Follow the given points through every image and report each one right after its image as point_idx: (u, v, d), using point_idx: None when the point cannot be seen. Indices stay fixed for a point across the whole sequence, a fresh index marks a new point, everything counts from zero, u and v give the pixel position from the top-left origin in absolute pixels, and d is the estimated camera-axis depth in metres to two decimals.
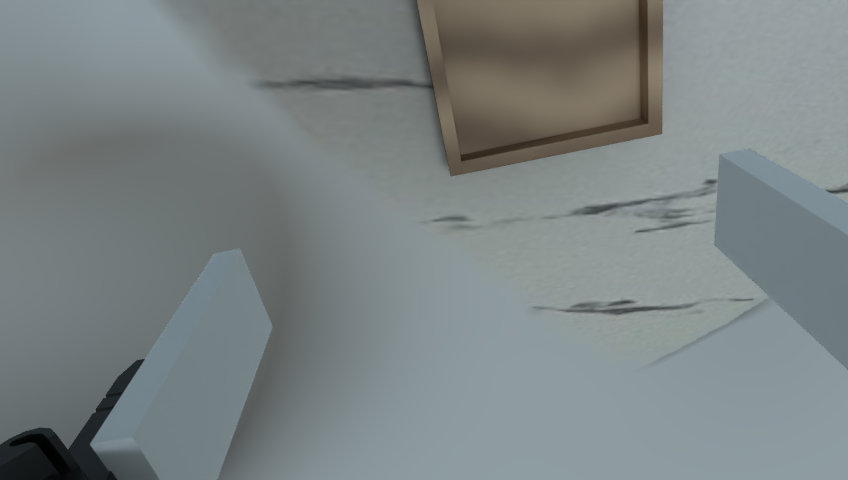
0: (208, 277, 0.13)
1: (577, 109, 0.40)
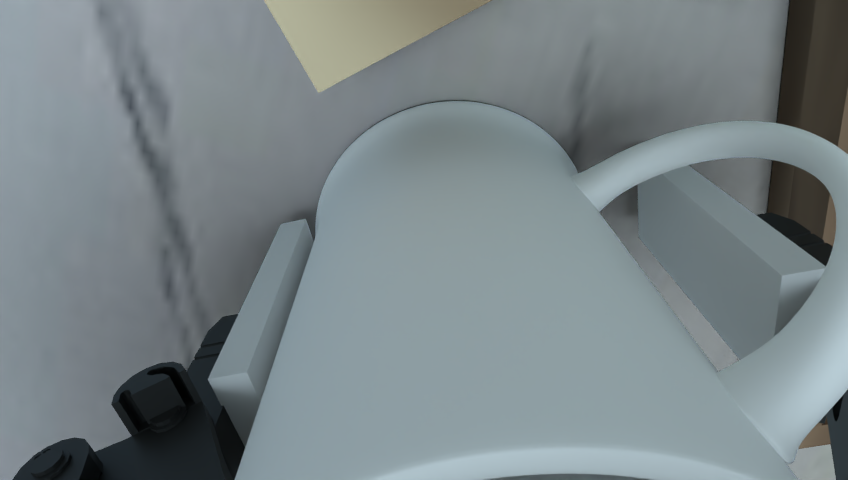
0: (282, 244, 0.14)
1: None
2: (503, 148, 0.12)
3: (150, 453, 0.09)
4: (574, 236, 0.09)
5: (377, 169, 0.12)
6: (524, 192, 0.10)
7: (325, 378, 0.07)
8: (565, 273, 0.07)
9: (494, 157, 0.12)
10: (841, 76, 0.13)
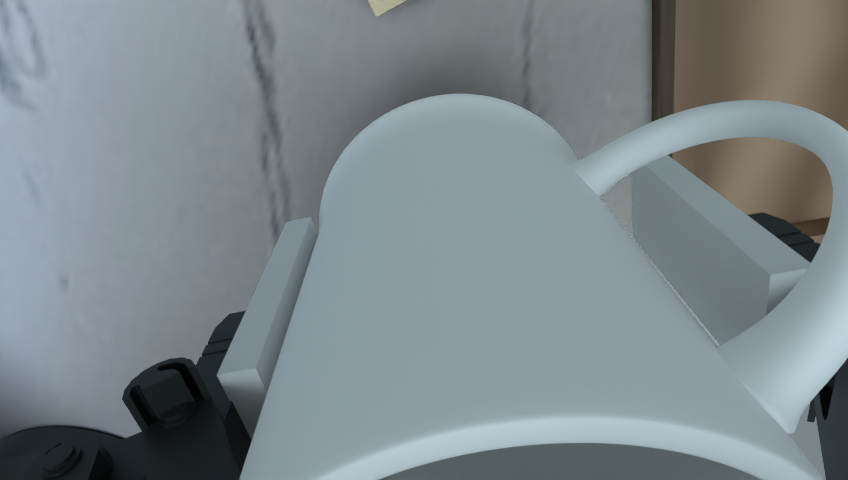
0: (287, 241, 0.14)
1: None
2: (502, 138, 0.12)
3: (160, 448, 0.09)
4: (572, 219, 0.09)
5: (377, 163, 0.13)
6: (522, 179, 0.10)
7: (328, 362, 0.07)
8: (563, 254, 0.08)
9: (492, 146, 0.12)
10: (672, 16, 0.22)
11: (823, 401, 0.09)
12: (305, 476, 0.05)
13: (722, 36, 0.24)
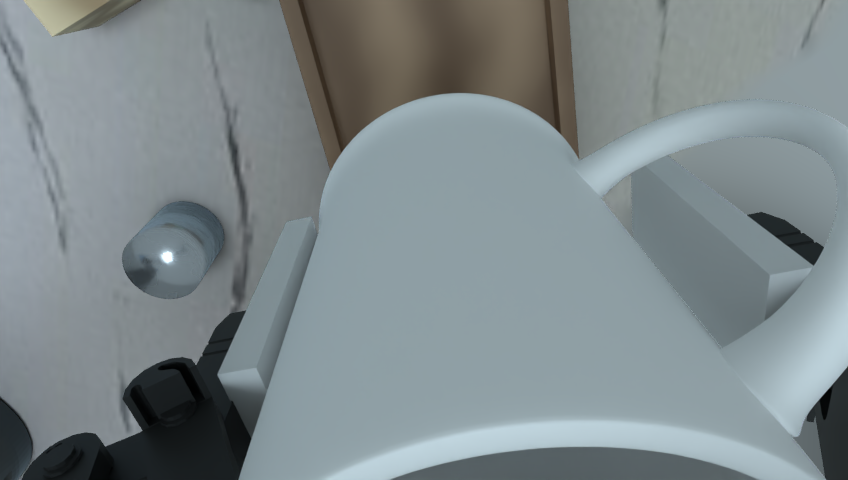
0: (288, 241, 0.14)
1: (518, 27, 0.33)
2: (502, 137, 0.12)
3: (160, 448, 0.09)
4: (574, 219, 0.09)
5: (377, 163, 0.13)
6: (523, 178, 0.10)
7: (327, 364, 0.07)
8: (564, 254, 0.07)
9: (493, 146, 0.12)
10: (290, 34, 0.31)
11: (823, 401, 0.09)
12: None
13: (343, 48, 0.33)
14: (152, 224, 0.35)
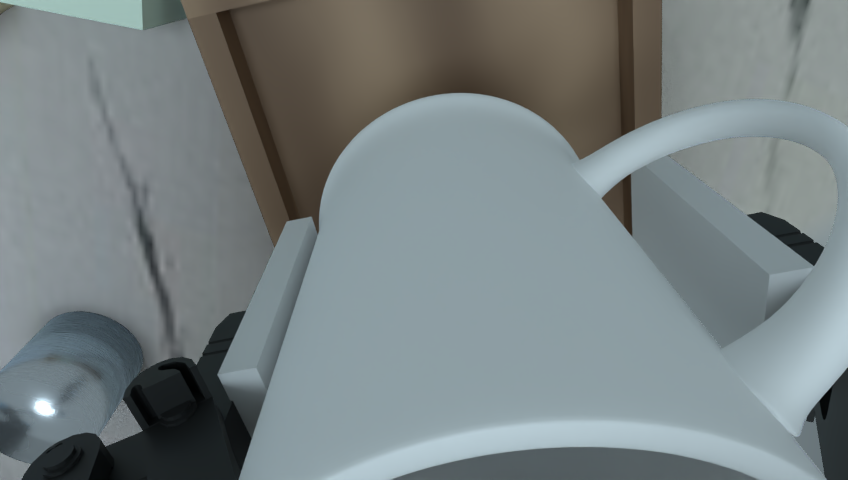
0: (288, 241, 0.14)
1: (575, 68, 0.21)
2: (503, 137, 0.12)
3: (161, 447, 0.09)
4: (574, 219, 0.09)
5: (377, 162, 0.12)
6: (523, 178, 0.10)
7: (327, 364, 0.07)
8: (565, 255, 0.07)
9: (493, 146, 0.12)
10: None
11: (822, 401, 0.09)
12: None
13: (303, 100, 0.21)
14: (19, 361, 0.23)
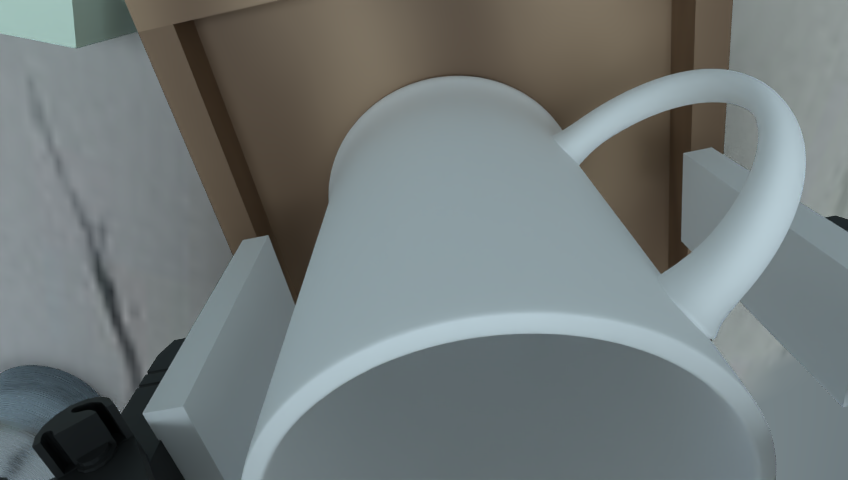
0: (240, 262, 0.14)
1: (617, 90, 0.17)
2: (487, 113, 0.14)
3: None
4: (542, 178, 0.10)
5: (377, 140, 0.14)
6: (502, 146, 0.12)
7: (334, 294, 0.08)
8: (528, 204, 0.09)
9: (477, 121, 0.13)
10: None
11: None
12: (317, 369, 0.07)
13: (286, 128, 0.17)
14: None
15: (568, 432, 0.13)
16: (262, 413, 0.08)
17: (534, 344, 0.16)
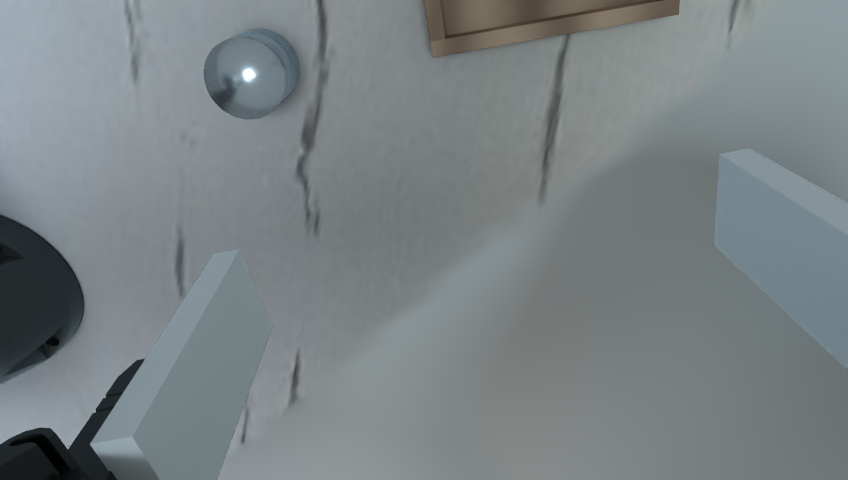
0: (208, 277, 0.13)
1: None
2: None
3: None
4: None
5: None
6: None
7: None
8: None
9: None
10: None
11: None
12: None
13: None
14: (235, 36, 0.34)
15: None
16: None
17: None
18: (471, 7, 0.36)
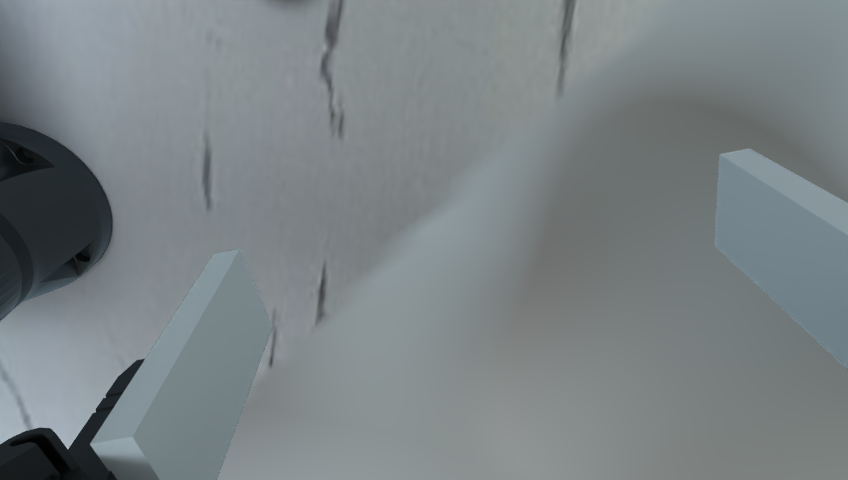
0: (208, 278, 0.13)
1: None
2: None
3: None
4: None
5: None
6: None
7: None
8: None
9: None
10: None
11: None
12: None
13: None
14: None
15: None
16: None
17: None
18: None
